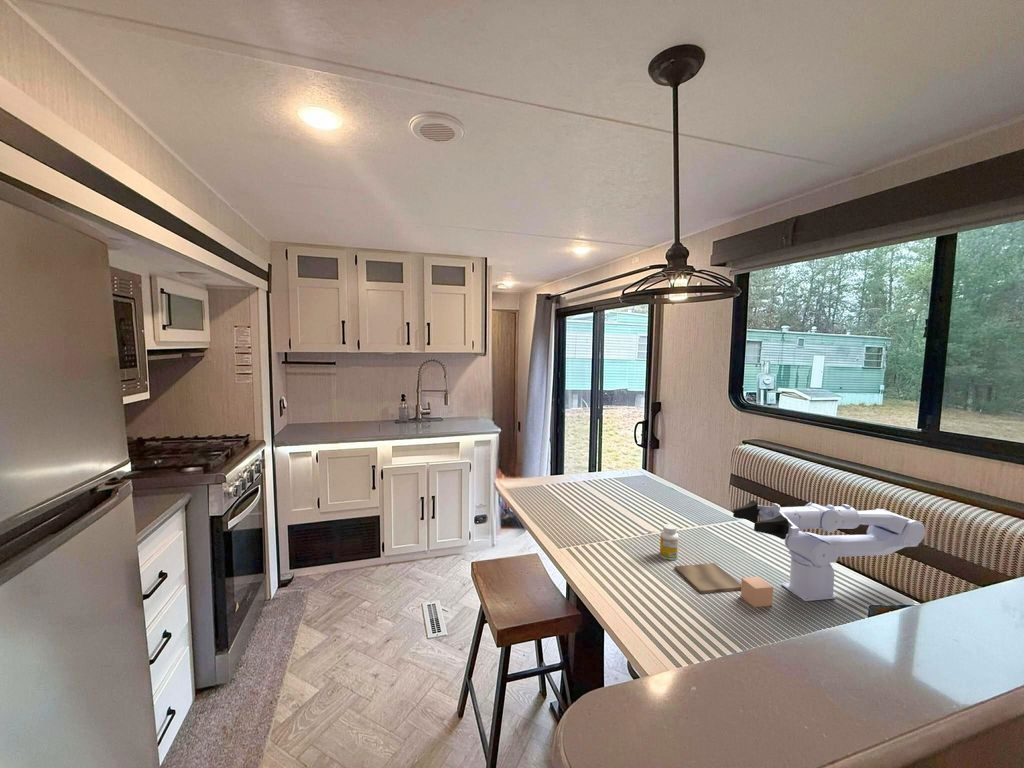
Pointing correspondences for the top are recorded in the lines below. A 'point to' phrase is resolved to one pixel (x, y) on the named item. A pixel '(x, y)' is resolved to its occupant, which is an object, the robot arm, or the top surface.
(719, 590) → the walnut board
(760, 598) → the terracotta block
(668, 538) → the supplement bottle
